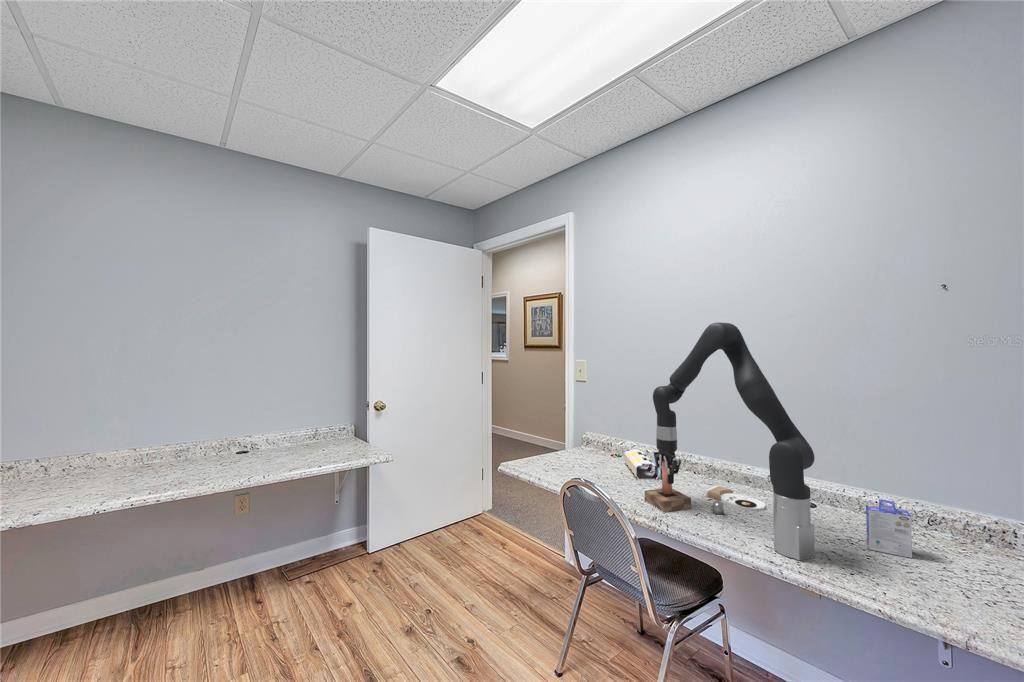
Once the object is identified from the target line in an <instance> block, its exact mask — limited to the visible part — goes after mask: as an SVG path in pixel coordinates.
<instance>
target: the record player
mask: <svg viewBox="0 0 1024 682" xmlns="http://www.w3.org/2000/svg"><path fill="white" fill-rule="evenodd" d="M705 497H706V498H708V497H709V499H712V500H715V501H719V502H722V503H723V504H724V505H727V506H730V505H731V506H730V507H733V506H734V507H733V508H736V507H737V508H736V509H739V508H740V510H743V509H744V511H747V510H750V512H763V511H765V510H766V504H765V503H764V502H763V501H761V500H759V499H756V498H753V497H751V496H750V497H749V496H747V495H744V494H743V495H742V494H739V493H734V491H733V490H732V489H729V488H727V487H723V486H720V485H716V486H713V487H710V488H708V489H705ZM762 510H763V511H762Z"/></svg>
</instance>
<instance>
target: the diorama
mask: <svg viewBox="0 0 1024 682" xmlns="http://www.w3.org/2000/svg"><path fill="white" fill-rule="evenodd" d="M654 452H655V450H654V449H652V459H651V458H650V457H648V455H647V454H646V453H645V452H644V451H642V450H640V449H637V448H635V449H634V448H633V449H631V448H630V449H629V450H626V451H624V452H623V461H624V463H625V464H626V466H627V465H628V466H627V467H628V468H629V470H630V469H631V470H632V471H631V470H630V471H631V472H632V473H634V474H633V475H634V476H635V478H636V477H637V478H636V479H637V480H638V481H640V478H639V477H638V475H637V474H638V470H637V469H638V467H642V466H643V467H644V466H645V467H646V466H647V465H648V468H647V469H646V470H648V471H649V472H652V471H654V474H653V475H652V478H653V479H654V478H655V479H656V480H655V479H654V480H655V481H657V480H658V478H659V476H660V470H659V468H657V466H656V462H655V457H654ZM648 471H647V472H648ZM649 472H648V473H649Z"/></svg>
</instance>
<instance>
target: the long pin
mask: <svg viewBox="0 0 1024 682" xmlns="http://www.w3.org/2000/svg"><path fill="white" fill-rule="evenodd" d="M671 465H672V464H670V465H669V466H671ZM670 471H671V468H670ZM667 474H668V472H667V468H666V466H665V462H664V461H662V480H661V488H662V493H664V494H672V489H673V484H668V478H667Z"/></svg>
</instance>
